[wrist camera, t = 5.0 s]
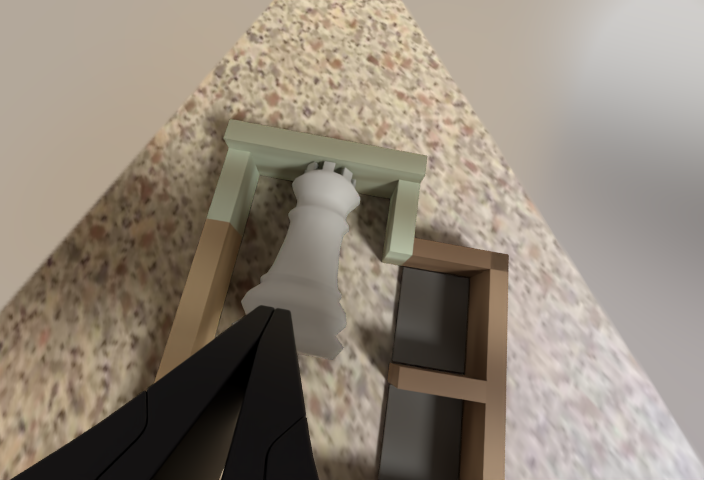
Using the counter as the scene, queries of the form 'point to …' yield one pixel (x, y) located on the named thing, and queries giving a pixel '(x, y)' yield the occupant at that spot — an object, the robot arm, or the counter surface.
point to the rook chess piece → (311, 261)
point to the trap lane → (413, 310)
